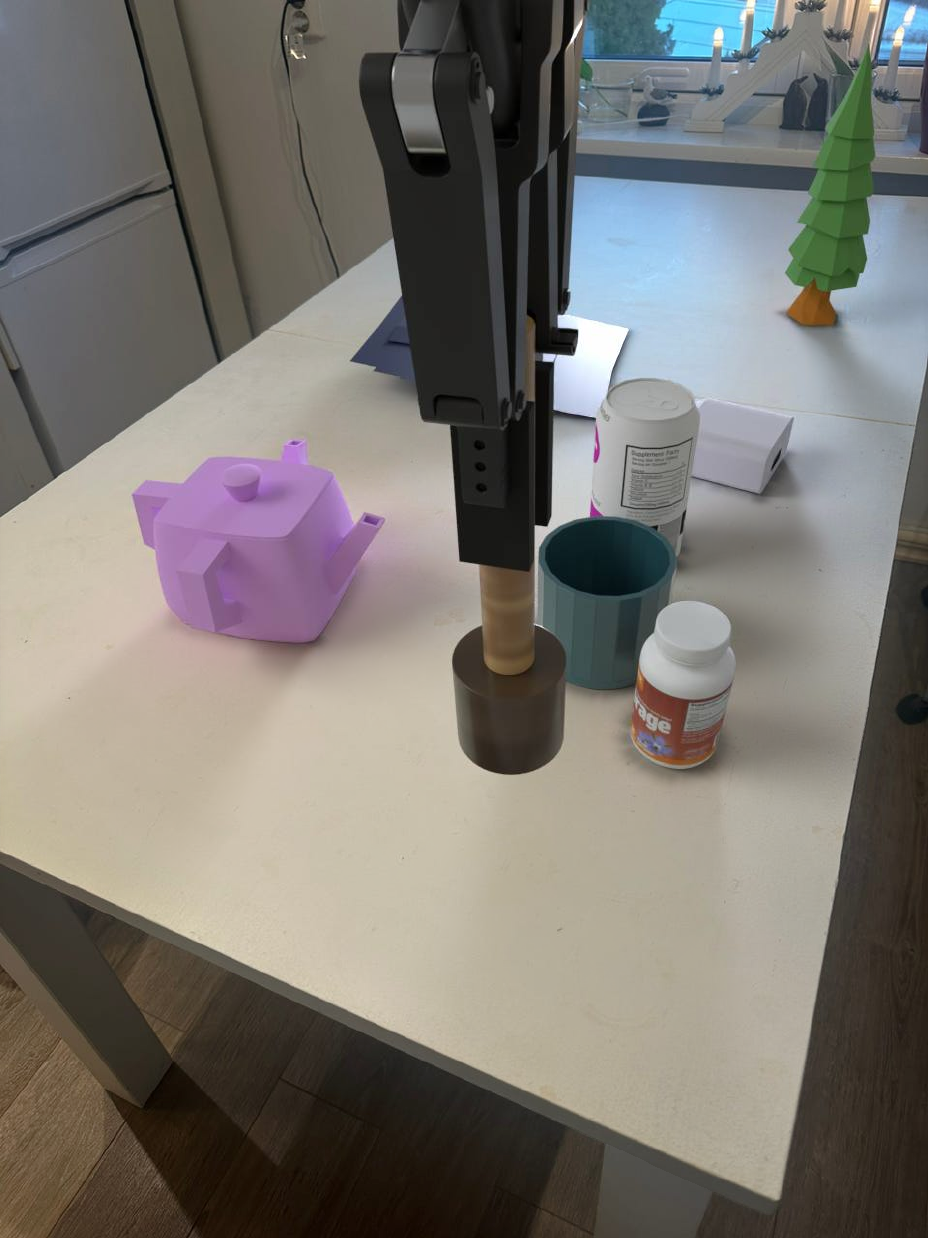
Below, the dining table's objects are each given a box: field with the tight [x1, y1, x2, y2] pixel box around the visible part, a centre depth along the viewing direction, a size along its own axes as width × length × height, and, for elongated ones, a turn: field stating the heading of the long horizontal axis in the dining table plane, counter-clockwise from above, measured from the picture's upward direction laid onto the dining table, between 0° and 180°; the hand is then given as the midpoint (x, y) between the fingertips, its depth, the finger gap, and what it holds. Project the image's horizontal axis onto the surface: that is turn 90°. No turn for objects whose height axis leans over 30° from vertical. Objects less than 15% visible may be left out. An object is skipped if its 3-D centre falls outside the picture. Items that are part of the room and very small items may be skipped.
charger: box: [692, 397, 795, 495], centre depth 88 cm, size 5×9×15 cm
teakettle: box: [131, 438, 386, 644], centre depth 73 cm, size 17×17×12 cm
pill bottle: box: [629, 600, 737, 770], centre depth 59 cm, size 6×6×11 cm
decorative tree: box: [784, 43, 877, 327], centre depth 103 cm, size 10×9×30 cm
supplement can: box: [589, 377, 701, 558], centre depth 74 cm, size 8×8×15 cm
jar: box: [536, 516, 678, 690], centre depth 67 cm, size 10×10×9 cm
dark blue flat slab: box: [349, 295, 629, 419], centre depth 107 cm, size 24×30×4 cm
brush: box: [451, 315, 567, 776], centre depth 35 cm, size 5×5×20 cm
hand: (506, 537), depth 34 cm, fingers closed on brush, 2 cm apart
